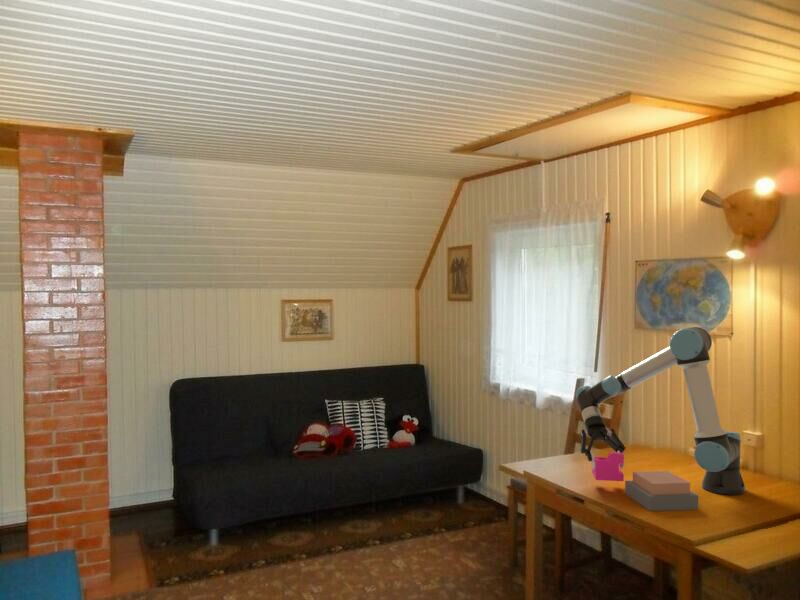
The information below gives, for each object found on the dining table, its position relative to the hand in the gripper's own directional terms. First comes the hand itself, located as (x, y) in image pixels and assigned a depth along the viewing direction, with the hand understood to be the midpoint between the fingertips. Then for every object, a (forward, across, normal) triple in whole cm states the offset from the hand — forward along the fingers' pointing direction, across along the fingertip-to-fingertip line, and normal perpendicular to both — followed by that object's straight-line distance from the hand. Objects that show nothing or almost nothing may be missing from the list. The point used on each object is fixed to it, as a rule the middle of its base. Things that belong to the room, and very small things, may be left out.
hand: (608, 467), depth 260 cm
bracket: (+2, 0, -4) cm, 5 cm away
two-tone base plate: (+17, -13, +4) cm, 22 cm away
